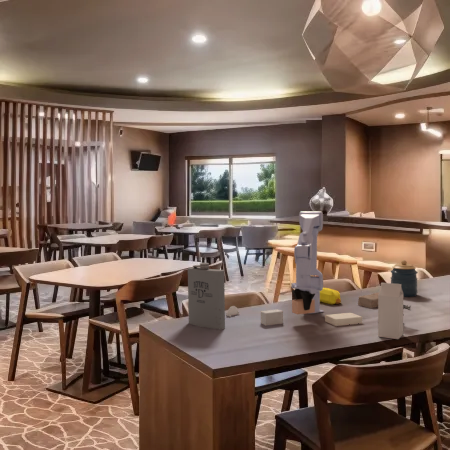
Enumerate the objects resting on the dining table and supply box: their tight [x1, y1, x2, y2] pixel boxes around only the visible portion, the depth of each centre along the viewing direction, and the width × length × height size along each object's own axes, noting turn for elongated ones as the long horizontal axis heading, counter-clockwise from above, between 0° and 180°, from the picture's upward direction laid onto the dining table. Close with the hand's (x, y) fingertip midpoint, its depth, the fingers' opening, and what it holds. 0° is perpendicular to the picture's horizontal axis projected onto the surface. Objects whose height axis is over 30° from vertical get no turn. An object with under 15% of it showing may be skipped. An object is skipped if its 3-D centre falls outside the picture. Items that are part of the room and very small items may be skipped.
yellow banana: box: [320, 287, 342, 306], centre depth 240 cm, size 18×7×8 cm
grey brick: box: [260, 308, 284, 327], centre depth 200 cm, size 4×8×5 cm, turn 115°
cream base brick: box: [324, 312, 363, 327], centre depth 200 cm, size 8×12×3 cm, turn 109°
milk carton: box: [377, 282, 404, 340], centre depth 179 cm, size 7×7×19 cm
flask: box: [187, 262, 226, 330], centre depth 197 cm, size 17×5×25 cm, turn 52°
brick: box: [357, 291, 379, 309], centre depth 234 cm, size 17×8×5 cm, turn 127°
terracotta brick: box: [291, 299, 315, 315], centre depth 199 cm, size 4×8×5 cm, turn 114°
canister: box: [390, 260, 418, 298], centre depth 255 cm, size 13×13×18 cm
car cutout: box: [225, 305, 240, 318], centre depth 213 cm, size 15×7×4 cm, turn 128°
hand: (303, 308), depth 199 cm, fingers closed on terracotta brick, 4 cm apart
